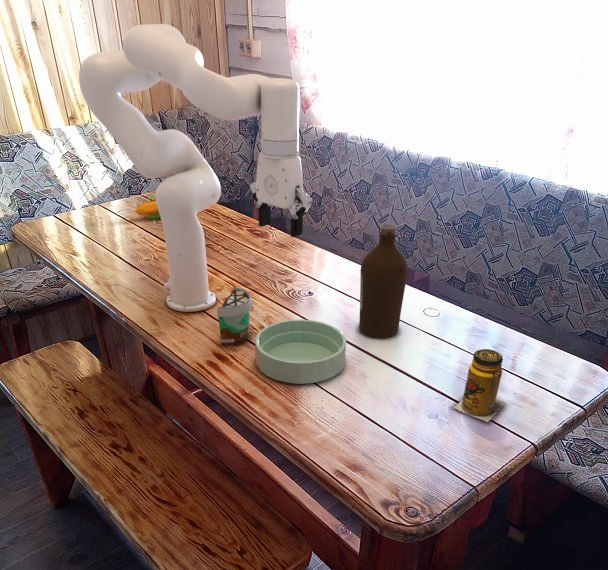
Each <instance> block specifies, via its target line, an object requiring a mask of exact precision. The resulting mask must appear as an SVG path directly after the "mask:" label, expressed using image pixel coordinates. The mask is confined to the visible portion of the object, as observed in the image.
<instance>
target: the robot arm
mask: <svg viewBox="0 0 608 570" xmlns="http://www.w3.org/2000/svg"><path fill="white" fill-rule="evenodd" d="M122 40H123V41H122V50H107V51H102V52H97V53H93V54H91V55H89V56H88V57H86V58H85V59H84V60H83V61H82V63H81V64H80V67H79V71H78V82H79V88H80V91H81V94H82V97H83V100H84V103H86V106H87V107H88V109H89V110H90V112H91V113H92V114H93V115H94V116H95V118H96V119H97V120H98V121H99V122H100V123H101V124H102V125H103V126H104V128H106V130H107V131H108V132H109V134H111V136H112V137H113V138H114V140H115V141H116V143H117V144H118V146H119V147H120V148H121V149H122V151H123V152H124V153H125V155H126V156H127V158H128V159H129V160H130V161H131V163H132V164H133V166H134V167H135V168H136V169H137V171H138V172H139V173H140V174H141V175H142V176H143V177H145V178H147V179H151V180H154V179H159V178H163V177H166V176H169V175H172V174H173V175H172V176H169V177H167V178H165V179H163V180H162V181H161V182H160V183H159V184H158V186H157V188H156V191H155V196H156V198H155V199H156V204H157V207H158V210H159V213H160V216H161V218H160V219H161V223H162V228H163V234H164V235H163V236H164V241H165V242H164V243H165V250H166V257H167V267H168V274H169V275H168V276H169V278H167V282H164V284H163V287H164V288H165V289H167V290H169V295H168V296H167V297H166V299H165V300H166V305H167V306H168V307H169V308H170V309H171V310H174V311H178V312H181V313H182V312H183V313H194V312H200V311H204V310H207V309H210V308H211V307H213V306H214V305H215V303H216V301H217V298H216V294H215V293H214V292H212V291H210V286H209V277H208V276H209V275H208V263H207V251H206V250H207V249H206V240H205V239H206V238H205V232H204V229H203V226H202V224H201V223H200V220H199V219H198V214H199V213H201V212H203V211H205V210H207V209H209V208H212V207H213V206H215V205H216V204H217V203H218V202H219V201H220V198H221V195H222V187H221V184H220V183H221V182H220V179H219V178H218V175H216V172H214V170H213V168H212V167H211V166H210V164H209V163H208V161H207V160H206V159H205V158H204V156H203V155H202V153H201V152H200V151H199V149H198V148H197V146H196V145H195V144H194V143H193V141H192V140H191V139H190V137H189V136H187V135H186V134H185V133H184V132H182V131H180V130H177V129H172V128H171V129H170V128H169V129H163V130H159V131H158V130H156V129H155V128H154V127H153V126H152V125H151V124H150V123H149V121H148V120H147V118H146V117H145V115H144V114H143V113H142V112H141V111H140V110H139V109H138V108H137V107H136V106H135V105H134V104H132V103H131V102H129V101H128V100H126V99H125V98H124V97H122V96H123V95H128V94H133V93H139V92H143V91H145V90H148V89H150V88H151V87H153V86H155V85H156V84H158V83H159V82H160V81H162V82H164V83H165V84H168V85H170V86H172V87H175V88H177V89H179V90H181V92H182V94H183V95H184V97H185V98H186V99H187V100H188V101H189V102H190V104H191V105H193V106H194V107H196V108H197V109H199V110H201V111H203V112H205V113H207V114H209V115H210V116H213V117H215V118H218V119H221V120H224V121H230V122H235V121H240V120H243V119H247V118H251V117H257V116H260V120H261V121H260V122H261V123H260V126H261V130H260V131H261V137H260V139H259V142H260V144H261V152H259V154H258V159H257V165H256V175H255V176H256V179H255V181H254V182H252V183H250V185H249V187H250V190H251V193H252V198H253V200H254V201H255V206H256V208H257V209H258V211H257V212H258V213H257V214H258V227H261V228H262V227H265V226H268V225H270V224H271V222H272V219H271V217H272V216H271V215H272V214H271V213H272V212H271V206H273V207H276V208H278V209H279V208H280V209H283V210H284V209H285V210H287V209H288V211H289V212H290V214H291V216H292V218H290V230H289V231H290V233H289V234H290V238H296V237H299V236H301V235H302V234H303V230H304V229H303V225H304V223H303V221H304V217H306V215H307V214H308V213H309V211H310V208H311V207H312V204H313V199H312V197H311V196H310V195H309V194H308V193H306V192H305V191H304V180H303V179H304V178H303V167H302V161H301V156H300V155H299V145H300V143H299V140H300V139H299V138H300V137H299V136H300V133H299V131H300V85H299V83H298V82H297V81H296V80H294V79H291V78H285V77H274V78H273V77H268V76H266V75H262V74H258V73H248V74H239V75H234V76H229V77H227V76H224V75H221V74H218V73H217V72H214V71H212V70H210V69H208V68H207V67H204V65H205V62H204V57H203V54H202V52H201V51H200V50H199V48H197V47H196V46H194V45H193V44H190V43H188V42H186V39H185V37H184V36H183V34H182V33H181V31H180V29H179V30H178V29H177V28H176V27H175V26H173V25H171V24H168V23H151V24H150V23H149V24H147V23H145V24H138V25H135V26H132V27H131V28H129V30H127V32H126V33H125V35H124V37H123V39H122Z"/></svg>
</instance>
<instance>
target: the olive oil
mask: <svg viewBox="0 0 608 570" xmlns="http://www.w3.org/2000/svg"><path fill="white" fill-rule="evenodd" d="M395 239H396V226H395V225H392V224H383V225H381V226H380V232H379V239H378V243H377V244H376V245H375V246H374V247H373V248H372V249H371V250H370V251H369V252H368V253H366V254H365V256H364V257H363V259H362V262H361V265H360V274H359V275H360V278H359V279H360V280H359V281H360V286H359V287H360V288H359V319H358V320H359V323H358V328H359V331H360V333H361V334H363V335H364V336H366V337H369V338H373V339H390V338H392V337H394V336H395V335H397V334H398V332H399V329H400V328H399V327H400V320H401V313H402V307H403V302H404V296H405V289H406V284H407V278H408V272H409V268H408V261H407V259H406V257H405V255H404V254H403V253H402V251H401V250H400V249H399V248H398V247H397V246H396V244H395Z"/></svg>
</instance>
